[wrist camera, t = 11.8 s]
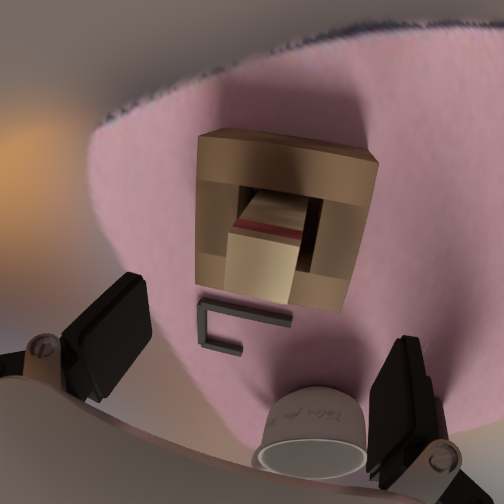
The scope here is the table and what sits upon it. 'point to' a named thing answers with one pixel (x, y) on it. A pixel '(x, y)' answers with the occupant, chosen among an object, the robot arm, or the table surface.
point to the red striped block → (266, 246)
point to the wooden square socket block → (290, 181)
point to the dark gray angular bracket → (234, 311)
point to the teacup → (313, 435)
